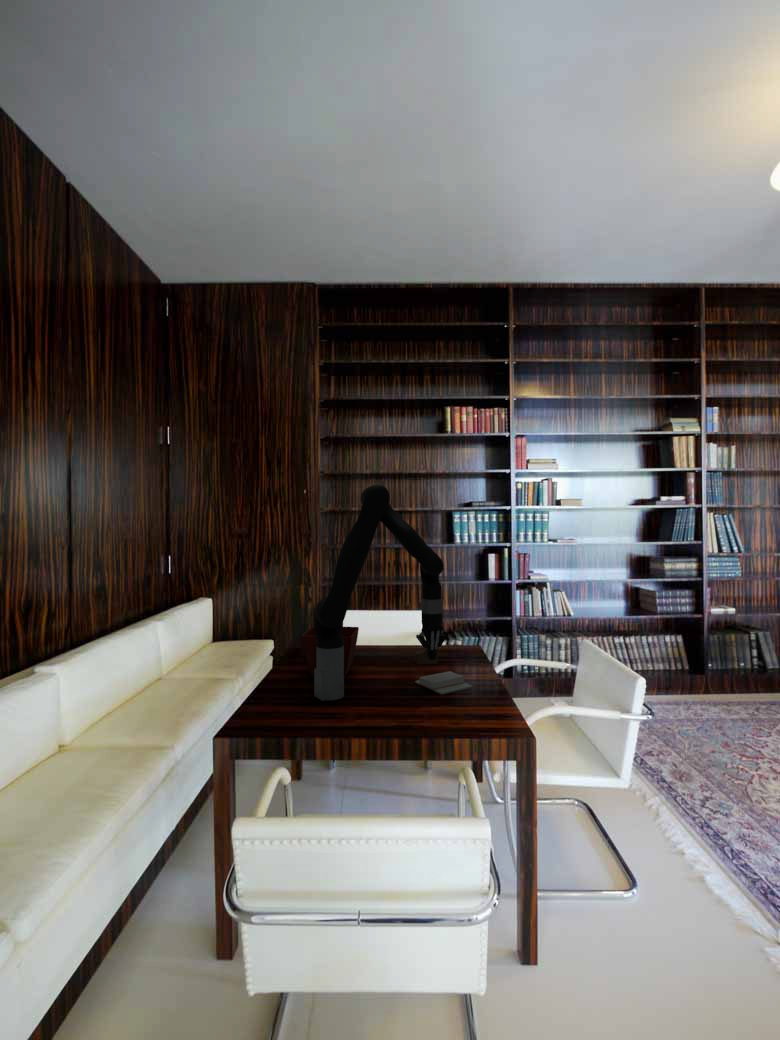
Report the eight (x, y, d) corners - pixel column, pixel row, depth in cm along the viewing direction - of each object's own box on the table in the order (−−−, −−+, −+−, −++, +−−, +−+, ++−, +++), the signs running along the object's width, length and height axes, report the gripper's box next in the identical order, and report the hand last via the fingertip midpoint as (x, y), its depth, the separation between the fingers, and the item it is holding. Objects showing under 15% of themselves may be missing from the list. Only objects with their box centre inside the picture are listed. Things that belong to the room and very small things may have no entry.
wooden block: (416, 664, 220) (416, 621, 220) (415, 661, 225) (415, 619, 225) (438, 664, 221) (437, 621, 220) (436, 661, 225) (436, 619, 225)
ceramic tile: (432, 682, 186) (463, 676, 193) (419, 677, 193) (449, 671, 200) (432, 690, 186) (463, 683, 193) (419, 684, 193) (449, 677, 200)
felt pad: (441, 694, 183) (441, 692, 183) (415, 682, 196) (415, 680, 196) (472, 687, 190) (472, 685, 190) (445, 676, 204) (445, 674, 204)
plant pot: (359, 667, 217) (359, 626, 217) (351, 681, 198) (351, 636, 198) (313, 666, 219) (313, 625, 219) (301, 680, 200) (300, 635, 200)
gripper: (423, 614, 184) (423, 664, 184) (453, 610, 191) (453, 659, 191) (410, 611, 190) (411, 659, 190) (440, 607, 197) (440, 654, 197)
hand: (432, 659), depth 191 cm, fingers closed
